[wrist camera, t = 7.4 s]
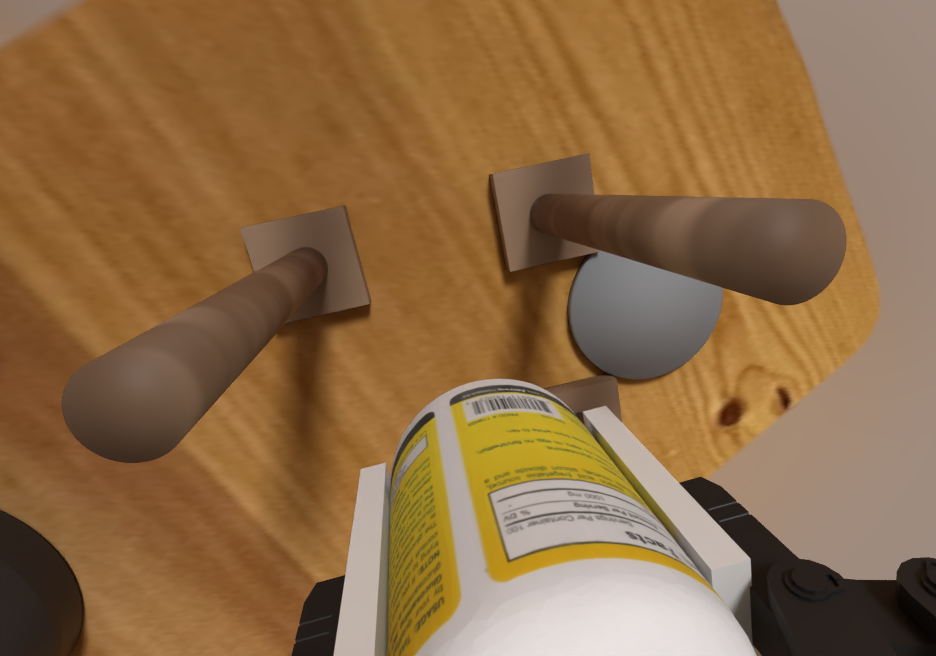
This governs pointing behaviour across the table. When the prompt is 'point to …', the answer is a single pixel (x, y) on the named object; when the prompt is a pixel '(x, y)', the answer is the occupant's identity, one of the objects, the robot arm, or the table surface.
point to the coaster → (639, 316)
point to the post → (213, 339)
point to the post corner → (670, 232)
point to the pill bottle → (534, 541)
